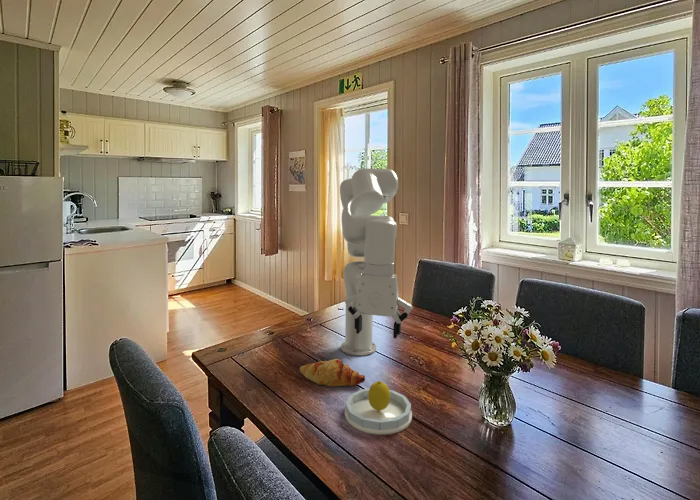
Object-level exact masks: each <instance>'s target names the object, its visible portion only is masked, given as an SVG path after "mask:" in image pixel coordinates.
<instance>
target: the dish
mask: <svg viewBox="0 0 700 500" xmlns="http://www.w3.org/2000/svg"><path fill="white" fill-rule="evenodd" d="M369 389H370V388H363V389H360V390H358V391H356V392H353V393H352V394H350V395H349V397H348V398H347V400H346V402H345V408H344V419H345V421H346V422H347V423H348V425H350V426H351V427H352V428H353V429H355V430H357V431H360V432H362V433H364V434H369V435H377V436H383V435H384V436H386V435H393V434H397V433H400V432H402V431H403V430H405V429H407V428H408V427H409V426H410V424H411V423H412V420H413V411H412V403H411V402H410V401H409V399H408V398H407V397H406V396H405V395H404V394H402V393H400V392H398V391H395V390H393V389H389V391H390V402H389V404H388V406H387V407H386V408H385V409H383V410H381V411H377V410H375V409H374V408H372V406H371V405H370V403H369V400H368V393H369Z"/></svg>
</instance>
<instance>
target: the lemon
mask: <svg viewBox="0 0 700 500" xmlns="http://www.w3.org/2000/svg"><path fill="white" fill-rule="evenodd" d="M368 389H369V393H368V400H369V403H370V405H371V406H372V408H374V409H375V410H377V411H381V410H383V409H385V408H386V407H387V406H388V404H389V402H390V391H389V390H390V387H389V386H388V385H387V384H386V383H384V382H383V381H380V380H378V381H375V382H373V384H371V386H370V387H369V388H368Z"/></svg>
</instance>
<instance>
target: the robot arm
mask: <svg viewBox="0 0 700 500" xmlns="http://www.w3.org/2000/svg"><path fill="white" fill-rule="evenodd" d="M398 189H399V179H398V175H397V173H396V172H395V171H394V170H393V169H390V168H361V169H358V170H356V171H355V172H353V174H352V176H351V178H348V179H347V178H346V179H344V180H343V181H342V182H341V183H340V185H339V197H340V200H341V205H342V208H343V209H342V212H341V230H342V235H343V239H344V240H345V241H346V242H347V252H348V254H349V255H350V256H351V257H354V258H364V259H363V261H361V260H359V261H350V262H348V263H347V264H346V265H345V266H344V267H343V273H342V274H343V280H344V281H343V282H344V289H345V290H344V291H345V292H344V293H345V300H344V304H345V326H344V327H345V328H344V329H345V335H344V337H345V339H344V341H343V342H342V343H341V345H340V350H341V351H342V352H343V353H345V354H348V355H351V356H358V357H359V356H368V355H371V354H373V353H375V352H376V351H377V345H376V343H374V342H373V318H374V317H373V316H379V317H388V318H389V317H390V318H391V317H392V319H393V320H394V323H393V336H392V337H393V339H398V338H397V337H398V335H400V334H401V331H402V330H401V329H402V327H401V326H402V322H403V321H404V320H405V319H406V318H408V316H409V315H410V313H411V311H412V310H413V307H414V306H413V305H412V304H410V303H409V302H407V301H405V300H404V299H402V298H400V296H399V283H398V277H397V276H398V275H397V274H396V273H395V259H396V257H395V256H396V238H397V235H398V234H397V232H398V225H397V222H396V221H395V220H394V218H393V217H392V216H390V215H374V214H376V213H377V212H379V211H380V210H381V208H382V207H383V205H384V204H388V203H390V201H391V200H393V198H394V197H395V196H396V194H397V192H398ZM399 306H400V307H401V308H403V309H404V311H403V312H402V313H401V312H399V311H398V310H399Z"/></svg>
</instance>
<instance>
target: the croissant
mask: <svg viewBox="0 0 700 500" xmlns="http://www.w3.org/2000/svg"><path fill="white" fill-rule="evenodd" d="M299 372H300V373H301V374H302V375H303V376H304V377H305V378H306V379H308V380H310V381H311V382H314V383H316V384H317V385H318V386H326V387H334V388H335V387H350V386H351V387H352V386H353V387H354V386H358V385H359V384H361V383H364V382H365V381H366V376H365V375H364V374H360V373H359V371H357V370H354V369H351V367H350V366H349V365H348V364H345V363H344V362H343V361H342V360H341V359H339V358H334V359H330V360H321V361H317V362H314V363H312V362H311V363H307V364H305V365H301V366H300V367H299Z"/></svg>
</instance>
